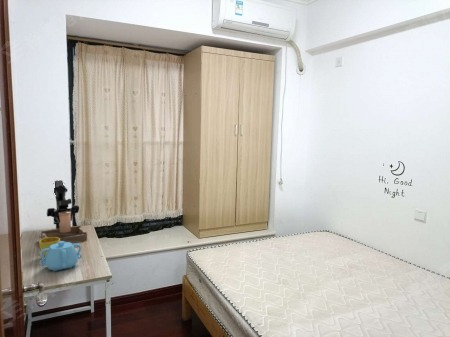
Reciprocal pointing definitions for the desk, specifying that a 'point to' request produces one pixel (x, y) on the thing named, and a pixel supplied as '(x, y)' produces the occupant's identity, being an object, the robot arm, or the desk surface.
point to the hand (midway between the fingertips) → (65, 221)
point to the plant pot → (48, 243)
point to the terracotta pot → (65, 221)
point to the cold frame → (66, 234)
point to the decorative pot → (60, 256)
